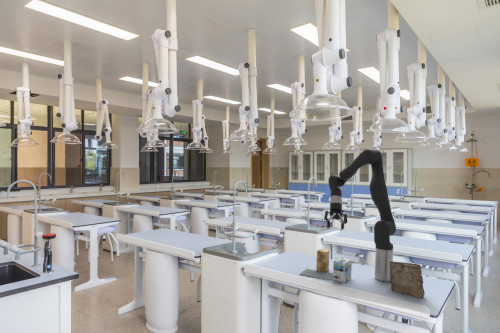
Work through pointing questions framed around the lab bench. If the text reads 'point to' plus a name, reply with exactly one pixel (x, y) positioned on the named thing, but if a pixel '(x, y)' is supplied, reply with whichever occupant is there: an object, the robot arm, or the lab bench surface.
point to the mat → (317, 274)
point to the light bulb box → (342, 270)
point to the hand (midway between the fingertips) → (335, 228)
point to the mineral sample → (406, 279)
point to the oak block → (322, 260)
